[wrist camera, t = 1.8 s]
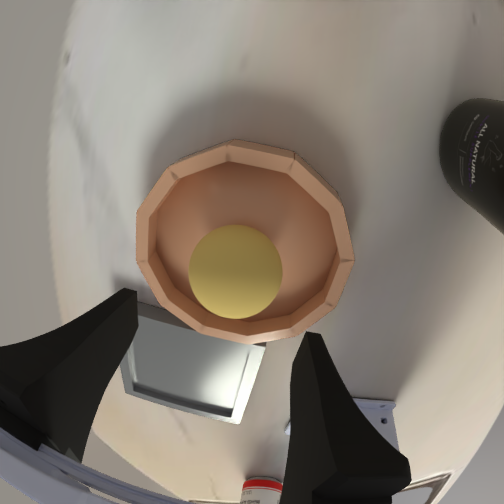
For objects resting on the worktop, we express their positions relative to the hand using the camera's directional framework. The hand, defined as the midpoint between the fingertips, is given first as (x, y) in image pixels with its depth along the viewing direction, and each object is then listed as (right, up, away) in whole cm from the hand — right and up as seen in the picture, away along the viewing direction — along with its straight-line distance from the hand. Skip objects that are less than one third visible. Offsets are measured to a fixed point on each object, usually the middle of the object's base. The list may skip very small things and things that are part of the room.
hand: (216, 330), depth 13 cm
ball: (+1, +3, +6) cm, 7 cm away
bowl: (+1, +4, +7) cm, 8 cm away
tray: (-4, -7, +13) cm, 16 cm away
